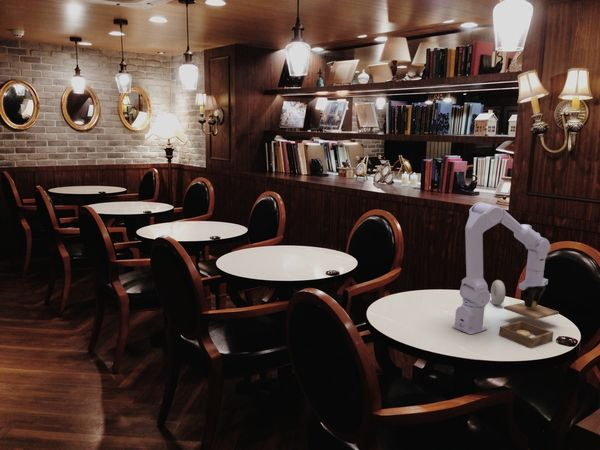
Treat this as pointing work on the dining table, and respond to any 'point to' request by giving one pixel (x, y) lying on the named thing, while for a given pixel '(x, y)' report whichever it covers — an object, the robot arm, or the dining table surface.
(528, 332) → the biscuit
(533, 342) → the box
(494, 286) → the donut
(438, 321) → the dining table surface
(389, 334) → the dining table surface
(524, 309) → the lid
